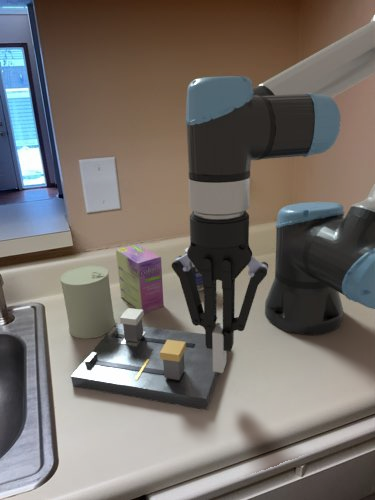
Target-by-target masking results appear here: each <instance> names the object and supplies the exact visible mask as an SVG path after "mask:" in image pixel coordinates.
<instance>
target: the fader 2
mask: <svg viewBox="0 0 375 500" xmlns="http://www.w3.org/2000/svg"><path fill="white" fill-rule="evenodd" d="M185 350H186V342H182V341H174V340H167V341H166V343H165V344H164V346H163V348H162V350H161V351H160V359H163V365H164V377H165V378H169V379H175V380H180V378H181V376H182V373H183V371H184V369H185V365H184V352H185Z"/></svg>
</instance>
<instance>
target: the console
mask: <svg viewBox="0 0 375 500" xmlns="http://www.w3.org/2000/svg"><path fill="white" fill-rule="evenodd" d="M104 335H105V336H104V337H103V338H102V339H101V340H100V341H99V343H98V344H97V345H96V346H95V347H94V349H93V350H92V351H91V352H90V353H89V354H88V355H87V356H86V358H85V359H84V360H83V362H81V364H80V365H79V366H78V367H77V369H75V370H74V372H73V373H72V374H71V376H70V378H71V384H72V387H75V388H81V389H86V390H90V391H91V390H92V391H97V392H103V393H109V394H114V395H118V396H119V395H121V396H126V397H131V398H136V399H144V400H149V401H154V402H158V403H159V402H160V403H165V404H171V405H176V406H182V407H188V408H194V409H200V410H205V411H207V410H208V407H209V404H210V401H211V398H212V396H213V392H214V388H215V385H216V382H217V379H218V376H219V373H220V372H214V371H213V349H209V348H207V347H206V337H205V333H199V332H192V331H183V330H176V329H175V330H174V329H167V328H159V327H158V328H157V327H151V326H143V334H142V336H141V337H140V339H139V340H138V342H134V341H127V340H125V336H124V328H123V324H121V323H118V322H117V323H116V322H115V325H114V326H113V327H112V328H111V330H110V331H109V332H108V333H106V334H104ZM167 340H174V341H182V342H186V350H185V352H184V365H185V369H184V371H183V373H182V376H181V378H180V380H175V379H169V378H165V377H164V365H163V359H160V351H161V350H162V348H163V346H164V344H165V343H166V341H167Z"/></svg>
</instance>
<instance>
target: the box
mask: <svg viewBox="0 0 375 500" xmlns="http://www.w3.org/2000/svg"><path fill="white" fill-rule="evenodd" d="M115 254H116V255H115V256H116V263H117V265H116V266H117V274H118V281H119V290H120V297H122V299H124V300H125V301H127V302H128V303H129V304H130V305H132V306H133V307H134V309H141V310H143V313H144V314H145V313H148V312H150V311H154V310H156V309H159V308H161V307H164V305H165V303H164V289H163V288H164V286H163V270H162V268H163V267H162V257H161V256H159V255H158V254H156V253H154V252H152V251H150V250H148V249H146V248H145V247H143V246H140V245H139V244H133V245H129V246H126V247H122V248H118V249H116V250H115Z"/></svg>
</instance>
